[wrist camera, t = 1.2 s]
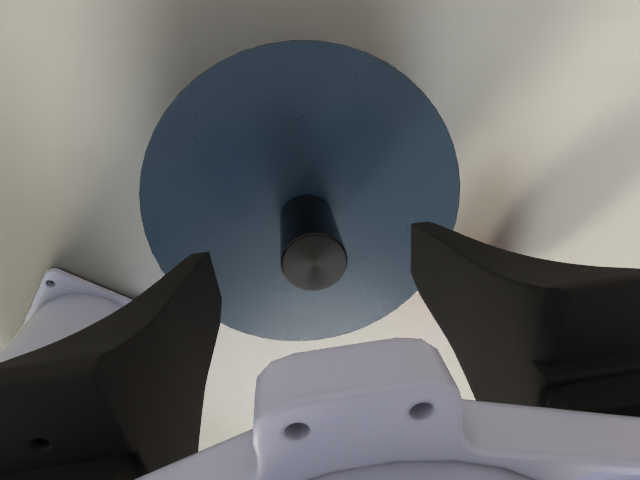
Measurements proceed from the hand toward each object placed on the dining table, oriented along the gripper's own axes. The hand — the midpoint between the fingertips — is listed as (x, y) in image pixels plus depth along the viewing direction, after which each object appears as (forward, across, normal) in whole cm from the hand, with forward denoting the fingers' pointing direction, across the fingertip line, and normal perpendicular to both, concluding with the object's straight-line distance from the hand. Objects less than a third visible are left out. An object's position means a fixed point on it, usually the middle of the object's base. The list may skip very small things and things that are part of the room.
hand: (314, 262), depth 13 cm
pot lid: (+4, 0, 0) cm, 4 cm away
